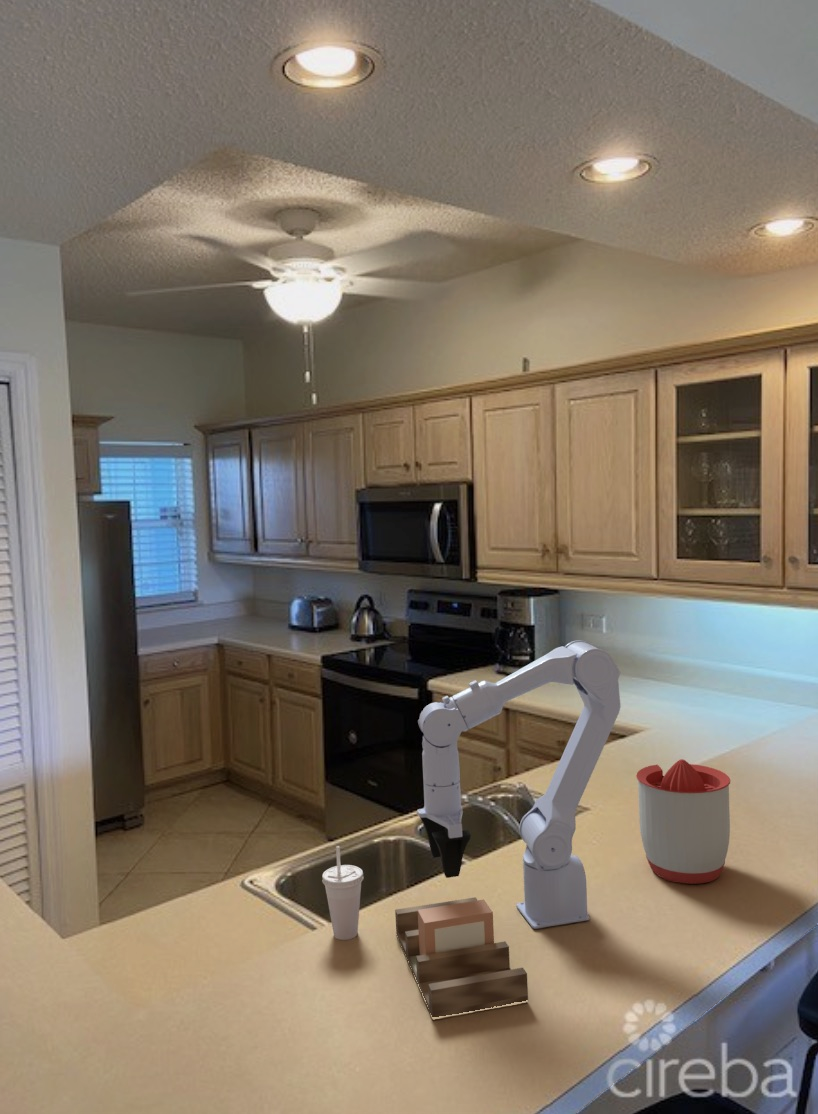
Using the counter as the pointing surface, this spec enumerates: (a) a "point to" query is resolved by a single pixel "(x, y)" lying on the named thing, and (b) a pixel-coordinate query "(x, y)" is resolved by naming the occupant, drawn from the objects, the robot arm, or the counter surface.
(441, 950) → the pink rectangular block
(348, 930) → the smoothie
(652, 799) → the citrus juicer
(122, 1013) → the counter surface
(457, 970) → the rack
